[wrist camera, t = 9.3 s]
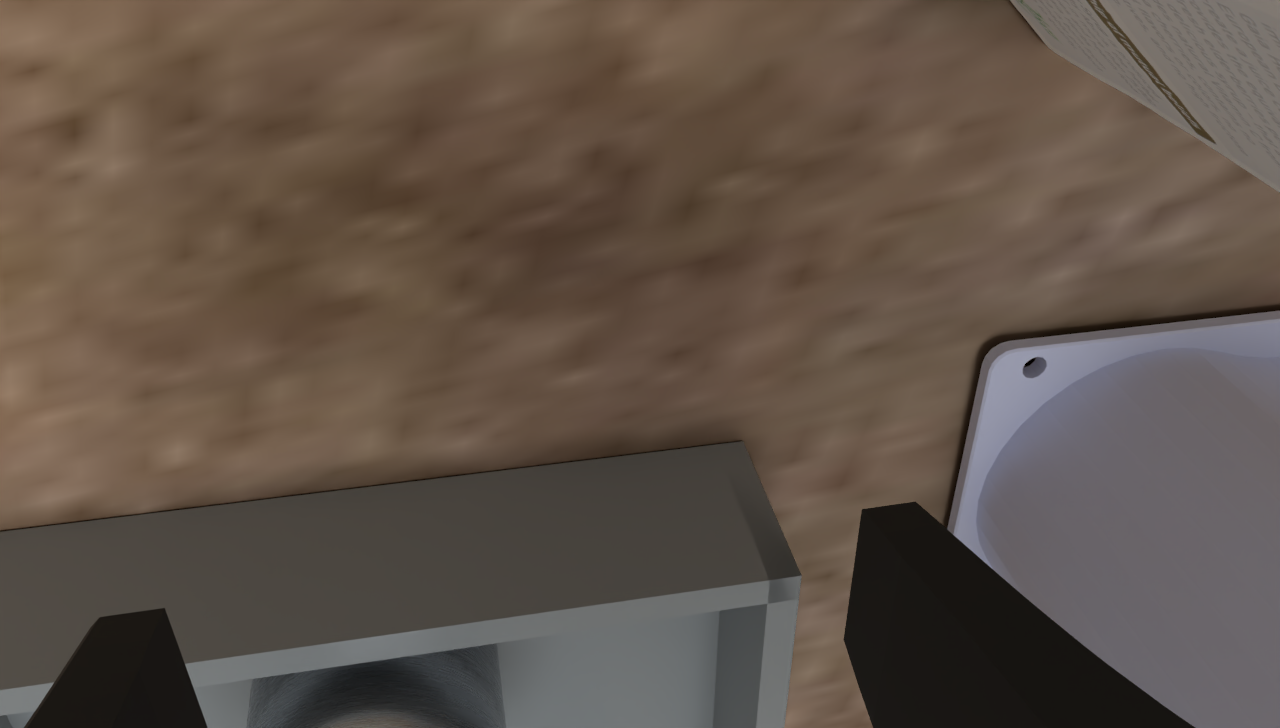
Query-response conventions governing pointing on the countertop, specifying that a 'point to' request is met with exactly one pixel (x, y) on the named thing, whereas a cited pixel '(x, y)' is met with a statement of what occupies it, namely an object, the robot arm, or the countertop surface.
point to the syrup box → (1182, 65)
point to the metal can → (386, 694)
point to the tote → (446, 589)
